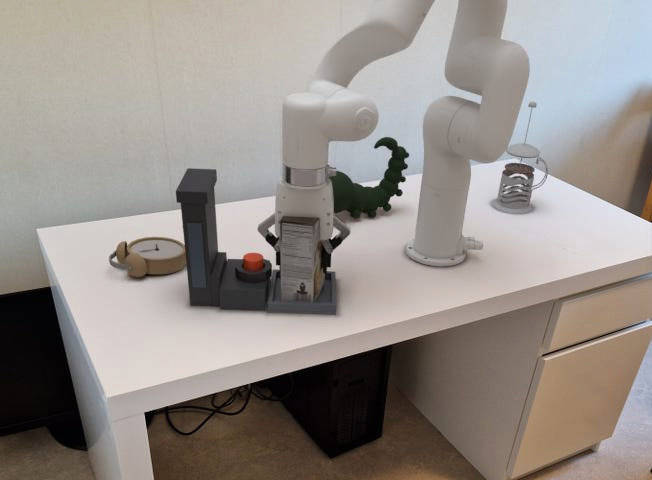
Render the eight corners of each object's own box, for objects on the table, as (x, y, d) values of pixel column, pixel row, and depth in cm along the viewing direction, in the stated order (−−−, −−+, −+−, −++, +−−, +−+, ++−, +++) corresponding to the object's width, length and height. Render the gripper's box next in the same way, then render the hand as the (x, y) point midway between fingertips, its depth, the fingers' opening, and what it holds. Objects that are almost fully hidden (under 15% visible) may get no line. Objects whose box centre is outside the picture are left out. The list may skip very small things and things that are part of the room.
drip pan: (335, 280, 129) (335, 271, 128) (335, 315, 118) (336, 305, 117) (272, 278, 128) (272, 269, 127) (267, 313, 118) (267, 303, 117)
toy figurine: (385, 209, 164) (291, 212, 154) (399, 131, 154) (299, 129, 144) (404, 224, 157) (306, 228, 147) (419, 143, 147) (315, 142, 137)
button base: (274, 279, 128) (273, 251, 125) (269, 311, 118) (269, 281, 115) (228, 278, 128) (227, 249, 124) (220, 309, 118) (218, 280, 114)
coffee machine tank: (228, 279, 127) (222, 169, 115) (220, 308, 118) (213, 192, 106) (197, 278, 127) (187, 168, 115) (187, 307, 118) (175, 190, 106)
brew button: (264, 263, 121) (264, 252, 120) (262, 272, 118) (262, 261, 117) (244, 262, 121) (244, 252, 120) (242, 271, 118) (242, 261, 117)
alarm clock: (197, 254, 129) (121, 259, 120) (195, 277, 131) (120, 284, 122) (173, 233, 136) (100, 236, 127) (171, 256, 139) (99, 260, 130)
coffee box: (292, 279, 127) (293, 199, 118) (325, 284, 126) (328, 203, 117) (279, 302, 120) (279, 219, 110) (314, 307, 119) (316, 223, 110)
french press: (490, 197, 170) (509, 94, 155) (536, 201, 169) (560, 98, 154) (493, 211, 162) (513, 105, 147) (541, 216, 161) (566, 109, 146)
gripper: (356, 168, 113) (350, 261, 124) (254, 164, 113) (257, 258, 123) (358, 183, 107) (351, 280, 117) (250, 179, 107) (253, 277, 117)
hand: (303, 268), depth 120 cm, fingers closed on coffee box, 7 cm apart
